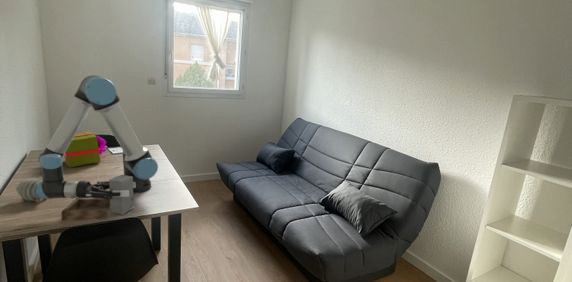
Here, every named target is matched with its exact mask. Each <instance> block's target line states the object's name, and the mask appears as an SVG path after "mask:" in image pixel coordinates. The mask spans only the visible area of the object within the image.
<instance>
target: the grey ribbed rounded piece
mask: <svg viewBox="0 0 572 282" xmlns="http://www.w3.org/2000/svg"><path fill="white" fill-rule="evenodd" d="M41 181H43V179H38V178H28V179H24V180H22V181H20V182H19V184H18V185H17V186H16V192H17V194H18V195H19V196H20V197H21V200H22V201H21V202H22V203H25V202H26V201H29V202H30V201H31V202H32V201H33V202H35V204H40V199H41V198H40V197H39V196H38V195H37V193H36V190H37V185H38V184H39V182H41ZM42 199H43V201H46V200H47V199H48V198H42Z"/></svg>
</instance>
